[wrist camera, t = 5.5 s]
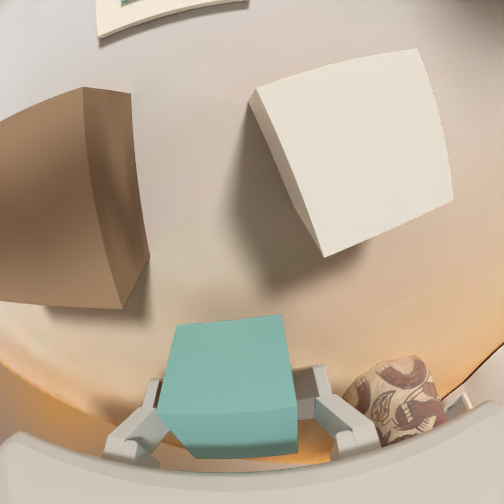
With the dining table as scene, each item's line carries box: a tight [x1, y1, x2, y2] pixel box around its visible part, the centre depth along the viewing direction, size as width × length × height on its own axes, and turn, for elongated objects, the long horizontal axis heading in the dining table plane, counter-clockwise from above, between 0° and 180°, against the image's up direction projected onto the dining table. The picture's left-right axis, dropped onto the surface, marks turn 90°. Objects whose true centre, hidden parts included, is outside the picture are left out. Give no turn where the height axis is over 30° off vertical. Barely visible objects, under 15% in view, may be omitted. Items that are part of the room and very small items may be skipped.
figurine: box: [343, 355, 447, 448], centre depth 13 cm, size 7×7×12 cm
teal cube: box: [156, 314, 298, 459], centre depth 10 cm, size 4×4×4 cm
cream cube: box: [248, 49, 453, 258], centre depth 8 cm, size 4×4×4 cm
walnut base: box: [0, 87, 150, 309], centre depth 8 cm, size 7×7×4 cm
